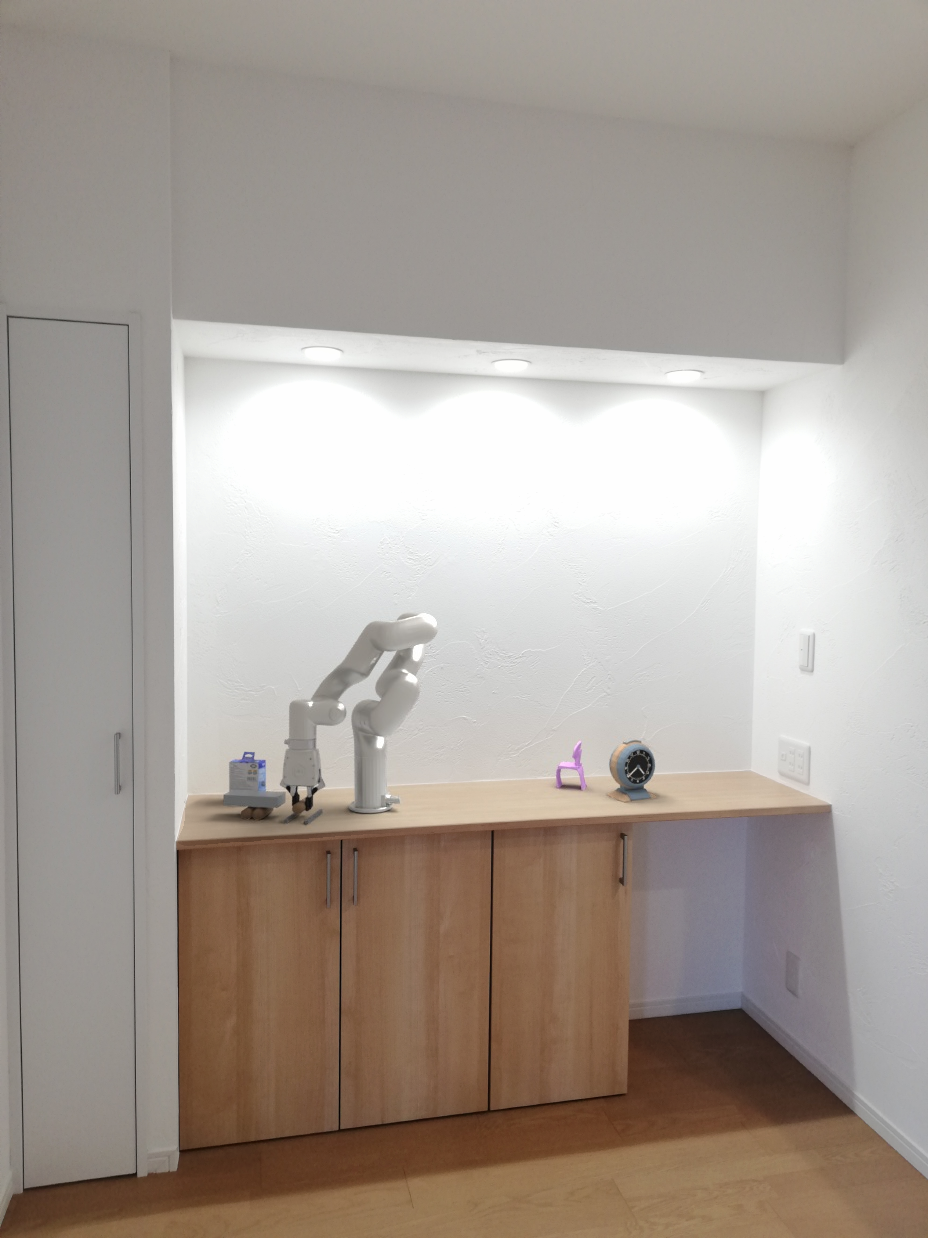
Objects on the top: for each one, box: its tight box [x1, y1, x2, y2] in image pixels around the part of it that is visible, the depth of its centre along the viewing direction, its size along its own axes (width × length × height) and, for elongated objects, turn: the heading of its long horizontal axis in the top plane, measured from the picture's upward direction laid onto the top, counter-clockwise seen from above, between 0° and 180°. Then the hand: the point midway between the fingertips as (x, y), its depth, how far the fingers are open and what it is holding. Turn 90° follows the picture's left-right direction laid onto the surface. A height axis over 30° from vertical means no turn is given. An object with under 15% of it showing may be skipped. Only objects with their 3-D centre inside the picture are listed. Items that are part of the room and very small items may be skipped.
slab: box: [222, 790, 287, 809], centre depth 248 cm, size 16×6×3 cm, turn 80°
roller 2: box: [251, 807, 275, 821], centre depth 248 cm, size 3×8×3 cm
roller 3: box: [291, 796, 307, 816], centre depth 246 cm, size 8×3×3 cm, turn 170°
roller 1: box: [240, 806, 259, 820], centre depth 249 cm, size 3×8×3 cm
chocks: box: [283, 808, 324, 825], centre depth 246 cm, size 7×12×1 cm, turn 170°
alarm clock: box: [605, 738, 659, 803], centre depth 269 cm, size 14×10×18 cm
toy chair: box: [555, 740, 587, 791], centre depth 282 cm, size 8×9×15 cm
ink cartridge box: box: [228, 751, 267, 792], centre depth 265 cm, size 10×6×14 cm, turn 78°
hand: (302, 809), depth 246 cm, fingers closed on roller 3, 3 cm apart
